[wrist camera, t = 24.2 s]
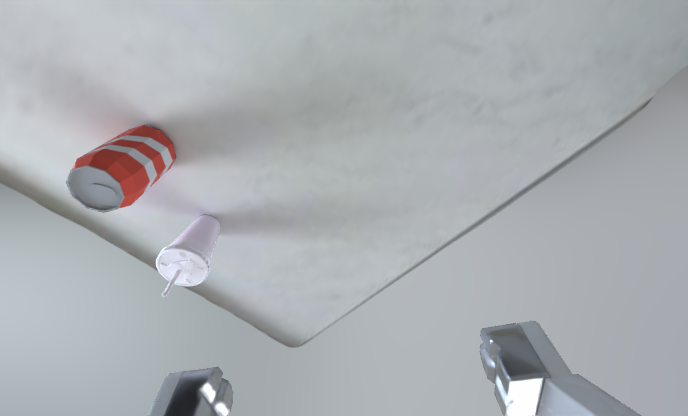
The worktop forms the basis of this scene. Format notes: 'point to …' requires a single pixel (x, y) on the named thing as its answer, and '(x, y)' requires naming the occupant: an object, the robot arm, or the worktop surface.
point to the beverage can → (121, 169)
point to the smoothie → (189, 254)
